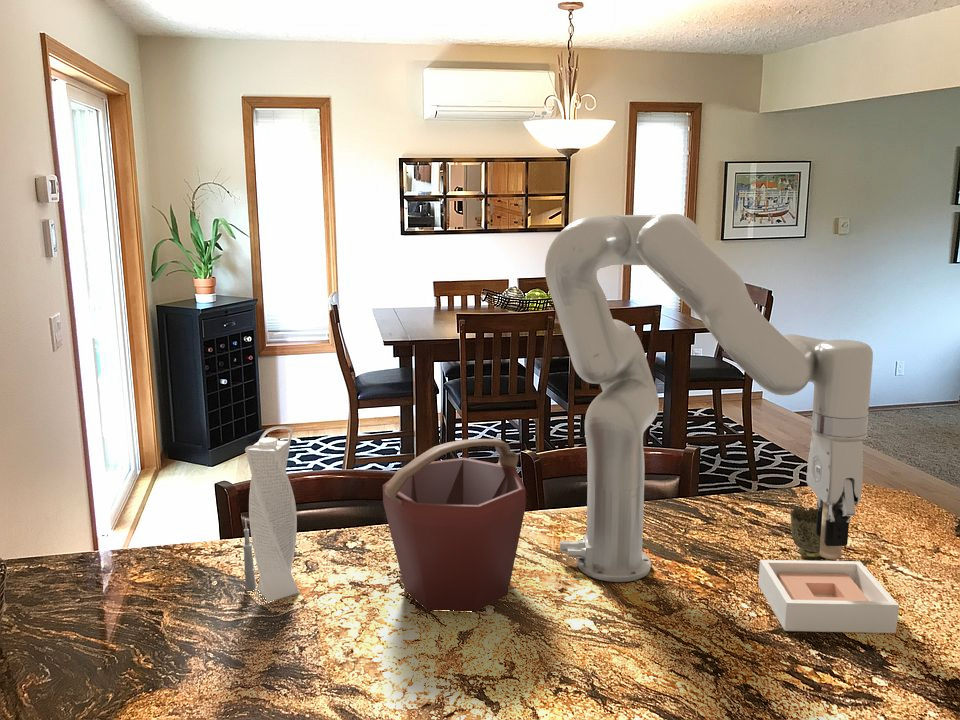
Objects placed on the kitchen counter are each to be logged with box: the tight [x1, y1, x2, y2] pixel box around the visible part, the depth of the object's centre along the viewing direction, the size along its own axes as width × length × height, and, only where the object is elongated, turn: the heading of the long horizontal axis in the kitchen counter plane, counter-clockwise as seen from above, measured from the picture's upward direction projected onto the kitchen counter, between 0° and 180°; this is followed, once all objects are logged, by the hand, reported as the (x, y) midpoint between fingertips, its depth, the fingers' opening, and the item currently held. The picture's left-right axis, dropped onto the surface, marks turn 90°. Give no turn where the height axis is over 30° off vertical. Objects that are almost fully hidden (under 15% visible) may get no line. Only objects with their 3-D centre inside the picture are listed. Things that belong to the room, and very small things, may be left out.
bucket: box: [382, 438, 527, 613], centre depth 130 cm, size 24×22×25 cm
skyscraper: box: [242, 425, 301, 606], centre depth 130 cm, size 8×8×28 cm
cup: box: [790, 506, 821, 561], centre depth 142 cm, size 8×7×8 cm
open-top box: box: [757, 559, 900, 634], centre depth 125 cm, size 16×14×4 cm
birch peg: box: [820, 498, 843, 561], centre depth 123 cm, size 3×3×10 cm
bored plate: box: [777, 573, 869, 601], centre depth 125 cm, size 11×11×2 cm
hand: (831, 538), depth 123 cm, fingers closed on birch peg, 3 cm apart
